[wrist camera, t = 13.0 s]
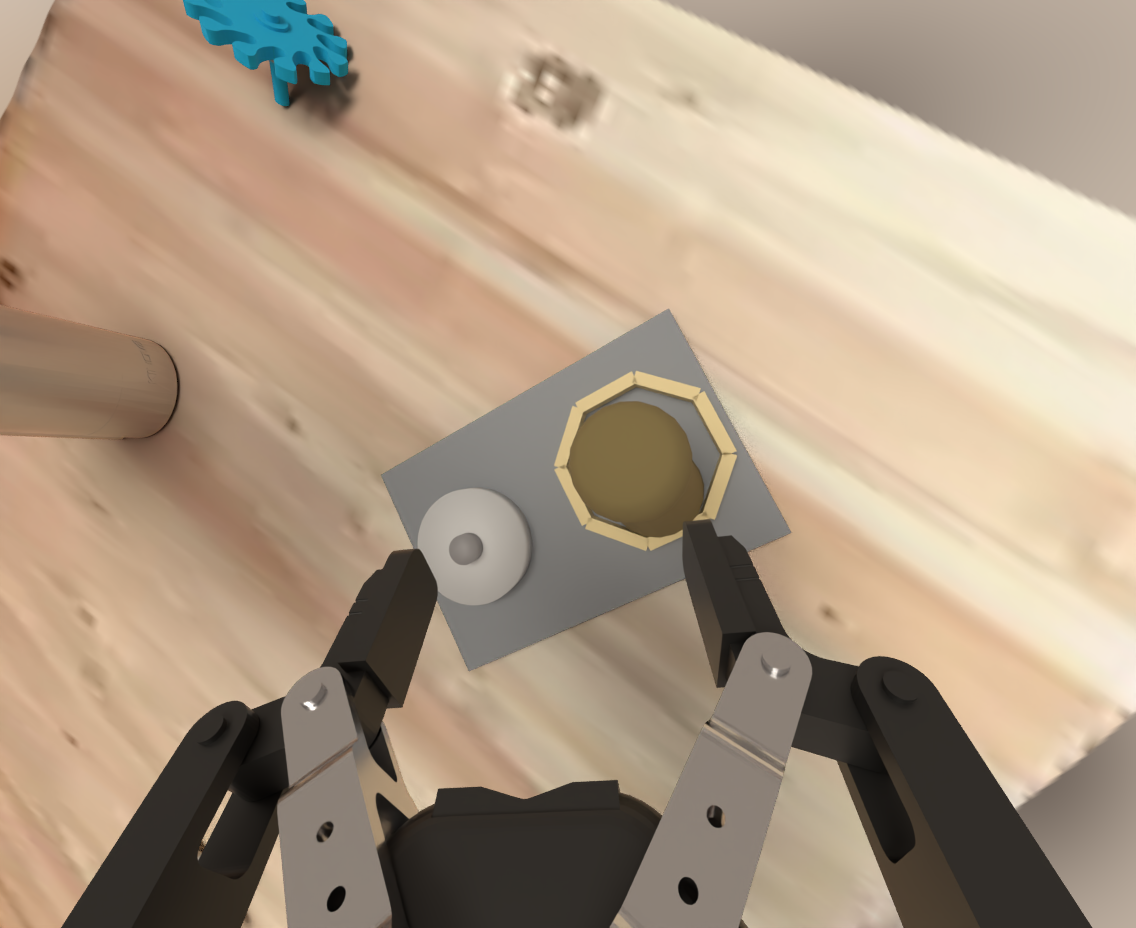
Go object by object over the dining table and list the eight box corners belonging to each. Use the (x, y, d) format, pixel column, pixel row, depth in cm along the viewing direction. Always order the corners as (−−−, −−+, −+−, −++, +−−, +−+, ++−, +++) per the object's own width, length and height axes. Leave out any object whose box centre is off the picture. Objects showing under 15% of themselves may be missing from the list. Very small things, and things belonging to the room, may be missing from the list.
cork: (657, 424, 27) (628, 350, 17) (726, 492, 25) (740, 455, 15) (589, 486, 28) (521, 451, 17) (651, 558, 25) (614, 566, 15)
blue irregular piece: (364, 80, 31) (190, 33, 26) (362, 157, 36) (216, 131, 31) (329, -16, 33) (164, -76, 28) (332, 69, 38) (191, 31, 33)
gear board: (476, 663, 31) (451, 690, 27) (391, 474, 33) (357, 476, 29) (785, 529, 26) (805, 540, 23) (668, 314, 28) (669, 292, 24)
